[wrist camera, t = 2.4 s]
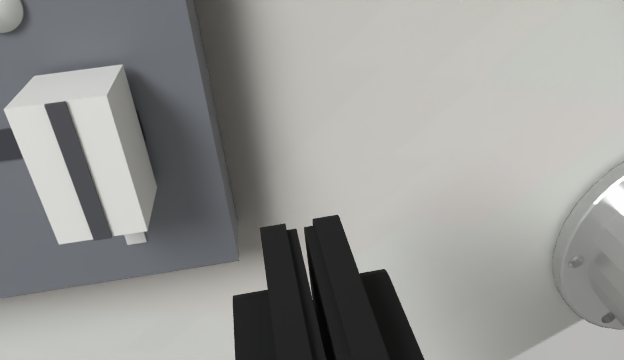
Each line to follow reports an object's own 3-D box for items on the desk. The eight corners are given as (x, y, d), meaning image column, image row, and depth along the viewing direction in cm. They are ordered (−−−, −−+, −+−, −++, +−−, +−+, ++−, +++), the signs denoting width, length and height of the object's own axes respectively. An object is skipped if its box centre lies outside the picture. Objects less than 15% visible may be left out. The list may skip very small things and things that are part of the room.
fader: (122, 64, 19) (105, 96, 16) (156, 187, 21) (147, 232, 19) (34, 75, 19) (2, 110, 16) (79, 198, 21) (58, 246, 19)
